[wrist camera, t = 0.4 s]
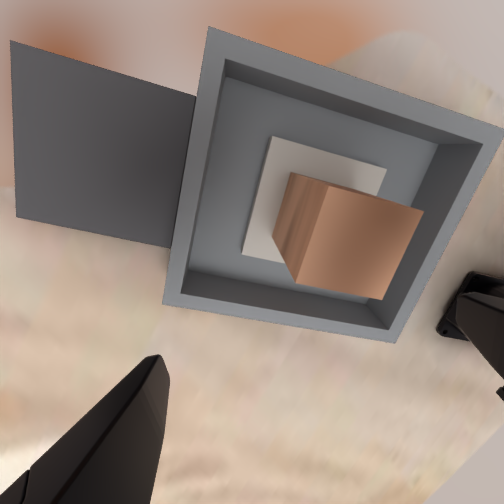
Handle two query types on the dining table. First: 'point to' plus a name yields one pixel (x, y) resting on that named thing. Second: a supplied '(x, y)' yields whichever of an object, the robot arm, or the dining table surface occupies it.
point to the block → (342, 236)
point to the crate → (315, 166)
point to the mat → (97, 147)
